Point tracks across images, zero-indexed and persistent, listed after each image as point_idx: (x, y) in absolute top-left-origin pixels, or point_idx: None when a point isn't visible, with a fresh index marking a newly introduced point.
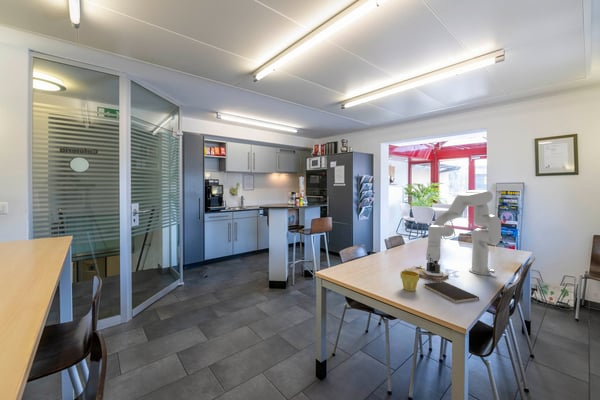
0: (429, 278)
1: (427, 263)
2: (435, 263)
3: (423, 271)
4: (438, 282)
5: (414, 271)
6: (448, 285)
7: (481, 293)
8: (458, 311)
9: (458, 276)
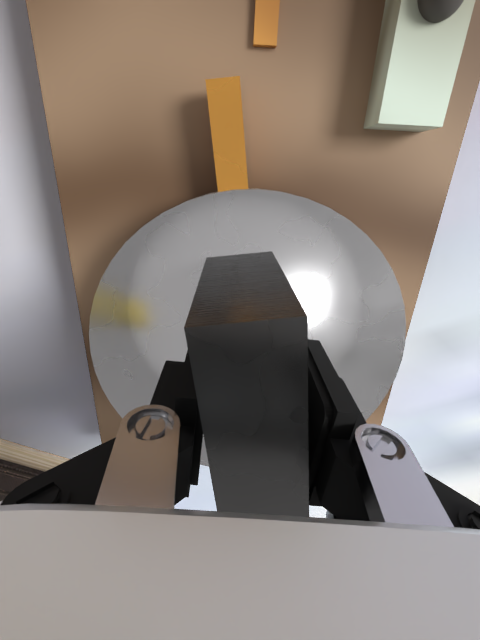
0: None
1: (193, 342)
2: (329, 497)
3: (160, 214)
4: (8, 473)
5: (96, 16)
6: None
7: None
8: None
9: (474, 471)
